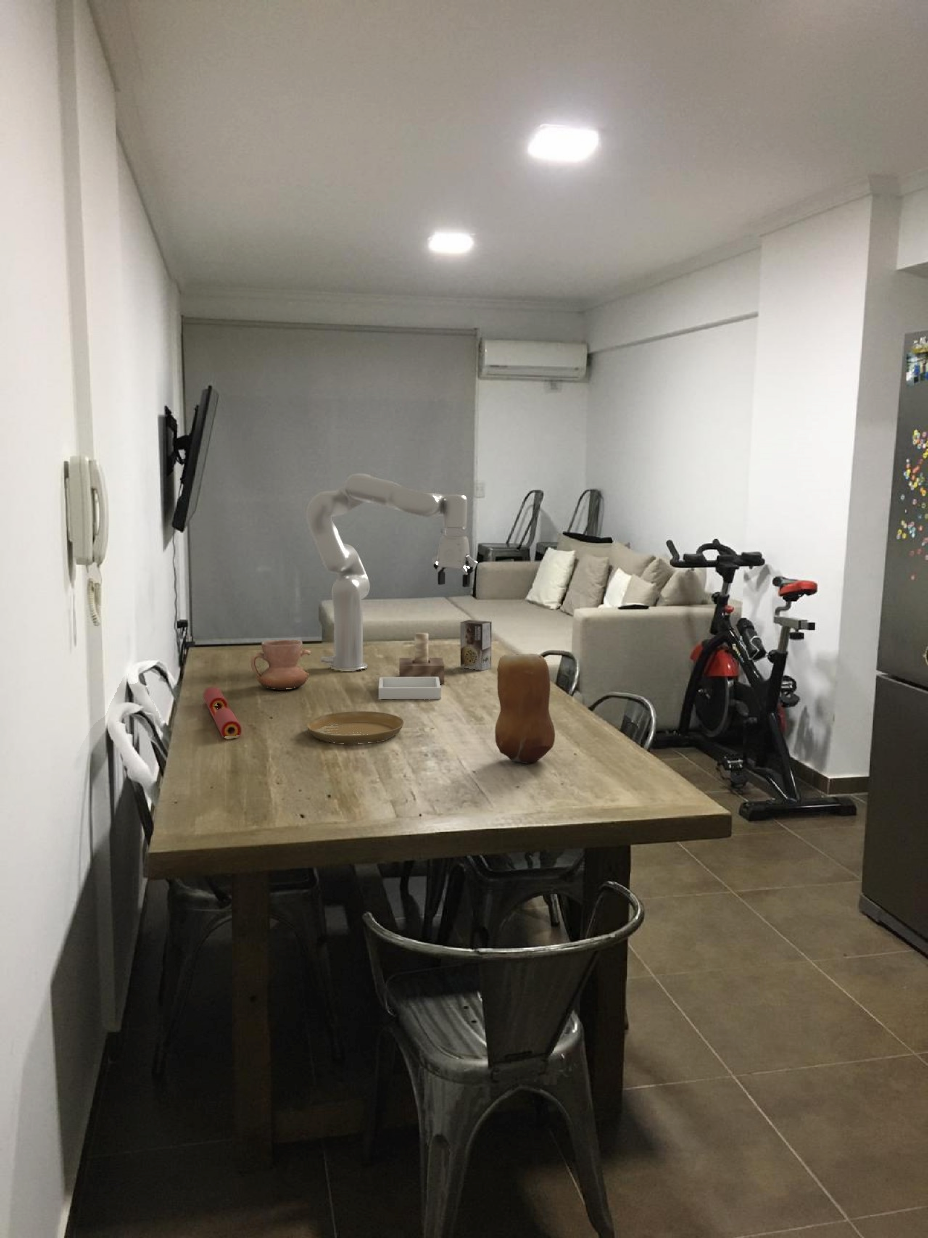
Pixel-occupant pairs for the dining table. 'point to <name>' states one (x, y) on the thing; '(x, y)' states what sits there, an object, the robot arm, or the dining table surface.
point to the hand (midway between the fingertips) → (453, 585)
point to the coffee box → (475, 644)
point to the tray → (409, 688)
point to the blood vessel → (221, 712)
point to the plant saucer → (356, 726)
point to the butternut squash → (524, 708)
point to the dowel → (421, 648)
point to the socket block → (422, 668)
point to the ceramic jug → (281, 664)
